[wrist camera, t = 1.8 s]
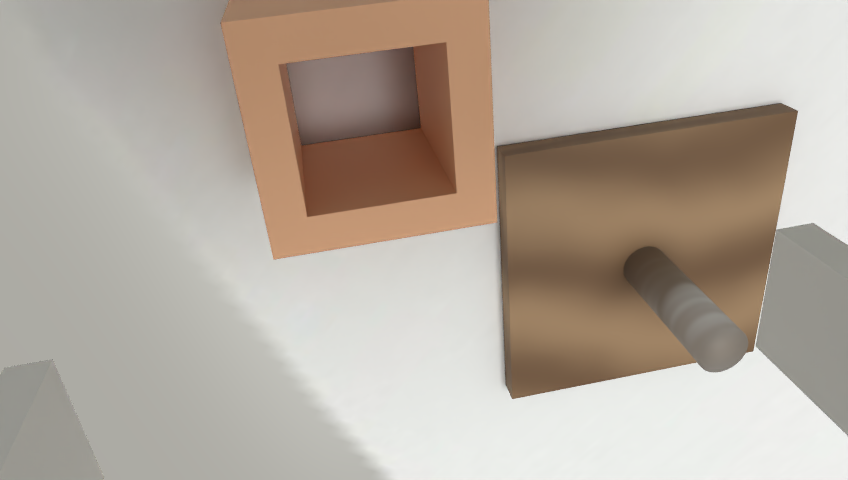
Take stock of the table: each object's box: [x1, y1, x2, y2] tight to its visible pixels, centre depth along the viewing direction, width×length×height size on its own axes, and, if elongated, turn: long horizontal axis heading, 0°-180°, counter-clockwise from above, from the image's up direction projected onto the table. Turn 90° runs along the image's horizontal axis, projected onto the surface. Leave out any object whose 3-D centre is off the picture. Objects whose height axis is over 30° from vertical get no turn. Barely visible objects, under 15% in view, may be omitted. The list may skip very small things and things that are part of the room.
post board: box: [497, 103, 798, 399], centre depth 32 cm, size 14×14×8 cm
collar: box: [221, 0, 497, 259], centre depth 25 cm, size 8×8×7 cm
